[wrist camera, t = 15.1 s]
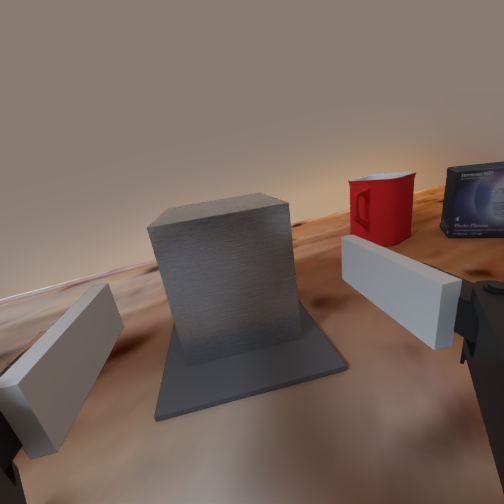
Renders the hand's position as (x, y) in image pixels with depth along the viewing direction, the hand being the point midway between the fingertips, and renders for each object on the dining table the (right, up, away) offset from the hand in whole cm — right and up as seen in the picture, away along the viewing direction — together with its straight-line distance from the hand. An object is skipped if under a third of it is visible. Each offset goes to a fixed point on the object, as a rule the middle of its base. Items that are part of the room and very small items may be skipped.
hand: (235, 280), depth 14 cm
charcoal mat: (0, -6, +12) cm, 14 cm away
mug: (+22, +3, +29) cm, 37 cm away
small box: (+38, +5, +26) cm, 46 cm away
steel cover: (0, -5, +12) cm, 13 cm away
